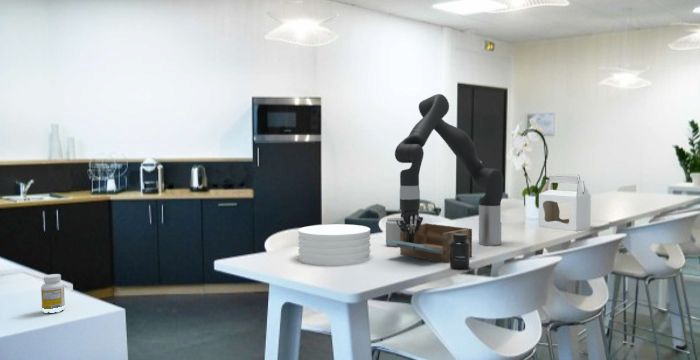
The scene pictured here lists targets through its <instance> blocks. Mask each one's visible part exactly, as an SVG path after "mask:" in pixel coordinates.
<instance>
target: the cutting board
mask: <svg viewBox="0 0 700 360" xmlns="http://www.w3.org/2000/svg"><path fill="white" fill-rule="evenodd" d="M386 242H389V243H392V244H396V245H397V247H396V248H405V249H411V250H415V249H419V250H425V251H431V252H437V253H442V250H438V249H435V248H432V247H429V246H425V245H421V244H415V243H408V242H402V241H396V240H390V239H386V238H385V243H386Z"/></svg>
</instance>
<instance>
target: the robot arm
mask: <svg viewBox="0 0 700 360" xmlns="http://www.w3.org/2000/svg"><path fill="white" fill-rule="evenodd" d="M449 110H450V103H449V100H448V99H447V97H446V96H445V95H443V94H441V93H437V94H434V95H431V96H429V97H428V98H424V99H423V100H422V101H420V102H419V104H418V111H419V113H420V115H421V117H422V118H421V119H420V120H419V121H418V122H417V123H416V124H415V125H414V126H413V127H412V128H411V129H412V130H410V133H409V135H408V136H407V137H405V138H404V139H403V140H402V141H401V142H400V143H398V144H397V146H396V147H395V150H394V157H395V160H396V161H397V162H398V163H401V164H411V165H410V167H409V168H406V169H402V170H401V171H400V172H399V173H400V174H399V181H400V182H399V185H400V186H399V210H400V211H401V213H400V217H399V218H400V219H399V220H397V221H396V222H397V224H398V226H399V227H400V229H401V231H402V232H405V233H406V241H407V242H408V243H414V233H415V231H418V229H419V227H420V225H421V224H423V220H424V217H423V216H420V213H419V210H421V203H420V202H421V199H420V198H421V197H420V196H421V195H420V192H421V191H420V171H421V166H422V162H423V159H424V155H425V154H424V148H423V147H425V145H426V143H427V141H428V139H429V137H430V135H431V134H432V132H433V131H435V132H436V133H437V134H438V135H439V136H440V138H441V139H442V140H443V141H444V143H445V144H446V145H447V146H448V147H449V149H450V151H452V153H453V154H454V155H455V156H456V157H457V159H458V161H460V162H461V164H462V165H463V166H464V167H465V169H466V170H467V172H468V173H469V175H470V177H471V178H472V179H473V181H474V183H475V184H476V185H477V187H479V188H480V189H483V190H485V193H484V195H483V196H482V197H479V199H478V244H479V245H482V246H492V247H493V246H500V245H501V244H502V221H501V219H502V218H501V215H502V214H501V208H502V207H501V206H502V205H501V202H502V200H503V195H504V174H503V173H502V171H501V170H500V169H498V168H490V167H489V168H487V167H486V166H485V165H484V164H483V163H482V162H481V161H480V160H479V157H478V155H477V148H476V144H475V143H474V141H473V140H472V138H471V137H470V136H469V134H467V132H466V131H464V130H462V129H461V128H458V127H456V126H454V125H451V124H450V123H448V122H446V121H445V120H444V119H443V118H444V117H445V116H446V115H447V114H448V112H449ZM415 227H416V228H415Z"/></svg>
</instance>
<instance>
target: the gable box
mask: <svg viewBox="0 0 700 360" xmlns="http://www.w3.org/2000/svg"><path fill="white" fill-rule="evenodd" d="M554 183H555V184H556V183H557V184H574V185H577V188H576V189H577V190H564V189H554V188H553V187H554V186H553V184H554ZM591 199H592V195H591V193H590V191H589V189H588V188H587V186H586V185H585V181H583V180H581V177H580V175H579V174H571V173H569V174H567V173H550V175H549V176H548V179H545V184H544V185H543V186H542V189H541V190H540V192H539V194H538V227H539V228H546V229H553V230H554V229H555V230H563V231H571V232H572V231H573V232H579V231H584V230H585V231H586V230H590V229H591V204H592V202H591V201H592V200H591ZM558 203H559V204H562V203H566V204H570V206H571V209H570V211H569V215H568V218H566V219H565V218H564V219H562V218H560V214H561V213H560V212H561V211H560V208H559V205H558Z"/></svg>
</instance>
